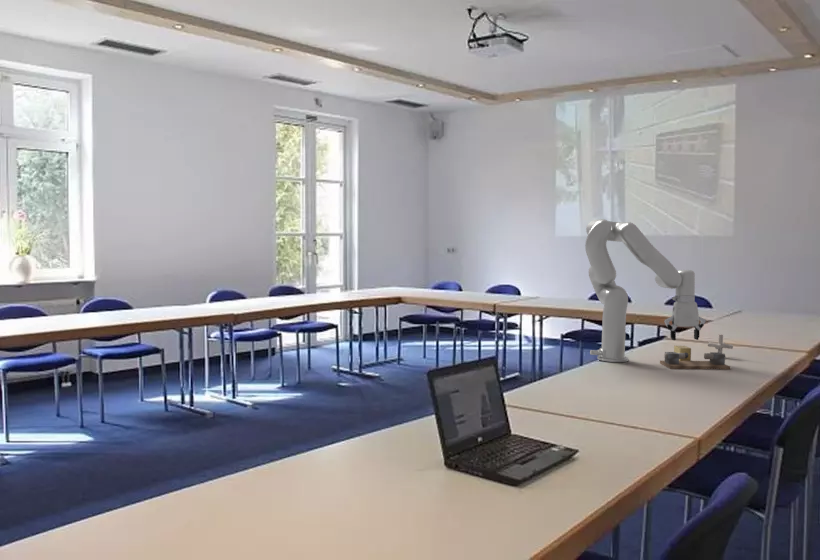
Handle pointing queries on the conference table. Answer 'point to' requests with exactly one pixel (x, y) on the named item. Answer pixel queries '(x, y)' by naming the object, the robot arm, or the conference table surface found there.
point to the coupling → (683, 350)
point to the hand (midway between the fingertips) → (684, 339)
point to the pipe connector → (720, 344)
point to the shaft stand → (715, 361)
